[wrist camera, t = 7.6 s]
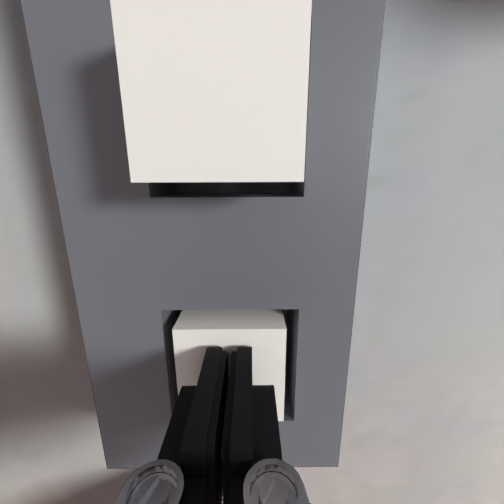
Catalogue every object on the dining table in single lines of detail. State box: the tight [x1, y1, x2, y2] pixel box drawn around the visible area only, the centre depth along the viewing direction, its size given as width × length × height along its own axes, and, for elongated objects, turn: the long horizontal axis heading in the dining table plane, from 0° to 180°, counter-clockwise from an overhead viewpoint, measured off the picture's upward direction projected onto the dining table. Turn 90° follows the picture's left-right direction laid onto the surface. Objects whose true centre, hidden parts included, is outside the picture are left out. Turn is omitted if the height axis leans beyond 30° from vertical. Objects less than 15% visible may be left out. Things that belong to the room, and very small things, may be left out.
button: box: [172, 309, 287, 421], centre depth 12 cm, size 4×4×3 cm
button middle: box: [110, 0, 312, 183], centre depth 7 cm, size 4×4×3 cm
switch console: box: [21, 0, 385, 469], centre depth 10 cm, size 28×10×4 cm, turn 0°
